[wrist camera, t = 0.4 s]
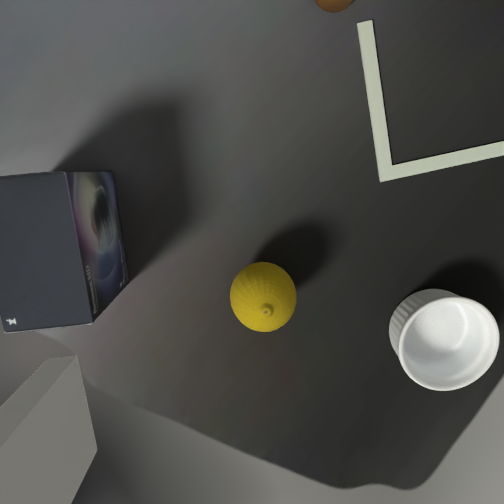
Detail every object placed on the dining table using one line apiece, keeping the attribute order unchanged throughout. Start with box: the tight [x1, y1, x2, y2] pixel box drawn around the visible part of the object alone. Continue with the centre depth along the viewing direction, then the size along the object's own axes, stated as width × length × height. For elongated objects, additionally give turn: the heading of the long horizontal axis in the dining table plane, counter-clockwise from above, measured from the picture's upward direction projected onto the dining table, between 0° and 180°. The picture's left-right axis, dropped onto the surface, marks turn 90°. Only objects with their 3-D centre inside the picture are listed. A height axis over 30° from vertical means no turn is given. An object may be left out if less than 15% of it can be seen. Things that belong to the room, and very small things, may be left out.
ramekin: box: [389, 289, 500, 391], centre depth 37 cm, size 9×9×4 cm
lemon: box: [230, 262, 296, 332], centre depth 34 cm, size 6×6×8 cm
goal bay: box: [357, 20, 504, 182], centre depth 35 cm, size 13×15×1 cm
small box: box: [0, 171, 129, 334], centre depth 31 cm, size 11×6×10 cm, turn 5°
